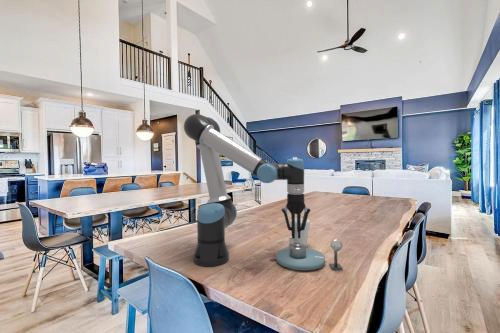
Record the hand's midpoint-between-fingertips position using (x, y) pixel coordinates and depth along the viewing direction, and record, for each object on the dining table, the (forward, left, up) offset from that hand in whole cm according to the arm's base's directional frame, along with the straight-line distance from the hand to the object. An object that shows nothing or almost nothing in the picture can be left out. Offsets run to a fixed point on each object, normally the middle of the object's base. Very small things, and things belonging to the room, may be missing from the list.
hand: (296, 245), depth 117 cm
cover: (-1, -8, -2) cm, 8 cm away
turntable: (+1, -8, -5) cm, 9 cm away
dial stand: (+14, -14, -5) cm, 20 cm away
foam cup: (+4, +11, -5) cm, 13 cm away
